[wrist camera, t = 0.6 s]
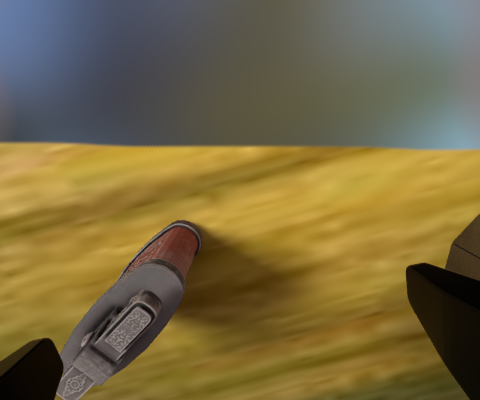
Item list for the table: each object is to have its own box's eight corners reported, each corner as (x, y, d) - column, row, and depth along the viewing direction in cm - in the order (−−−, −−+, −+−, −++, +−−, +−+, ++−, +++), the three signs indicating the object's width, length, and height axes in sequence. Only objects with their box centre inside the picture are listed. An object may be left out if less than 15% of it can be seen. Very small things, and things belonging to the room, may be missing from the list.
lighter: (140, 317, 24) (72, 444, 15) (104, 288, 24) (8, 400, 14) (213, 241, 23) (191, 326, 13) (176, 209, 23) (125, 272, 13)
